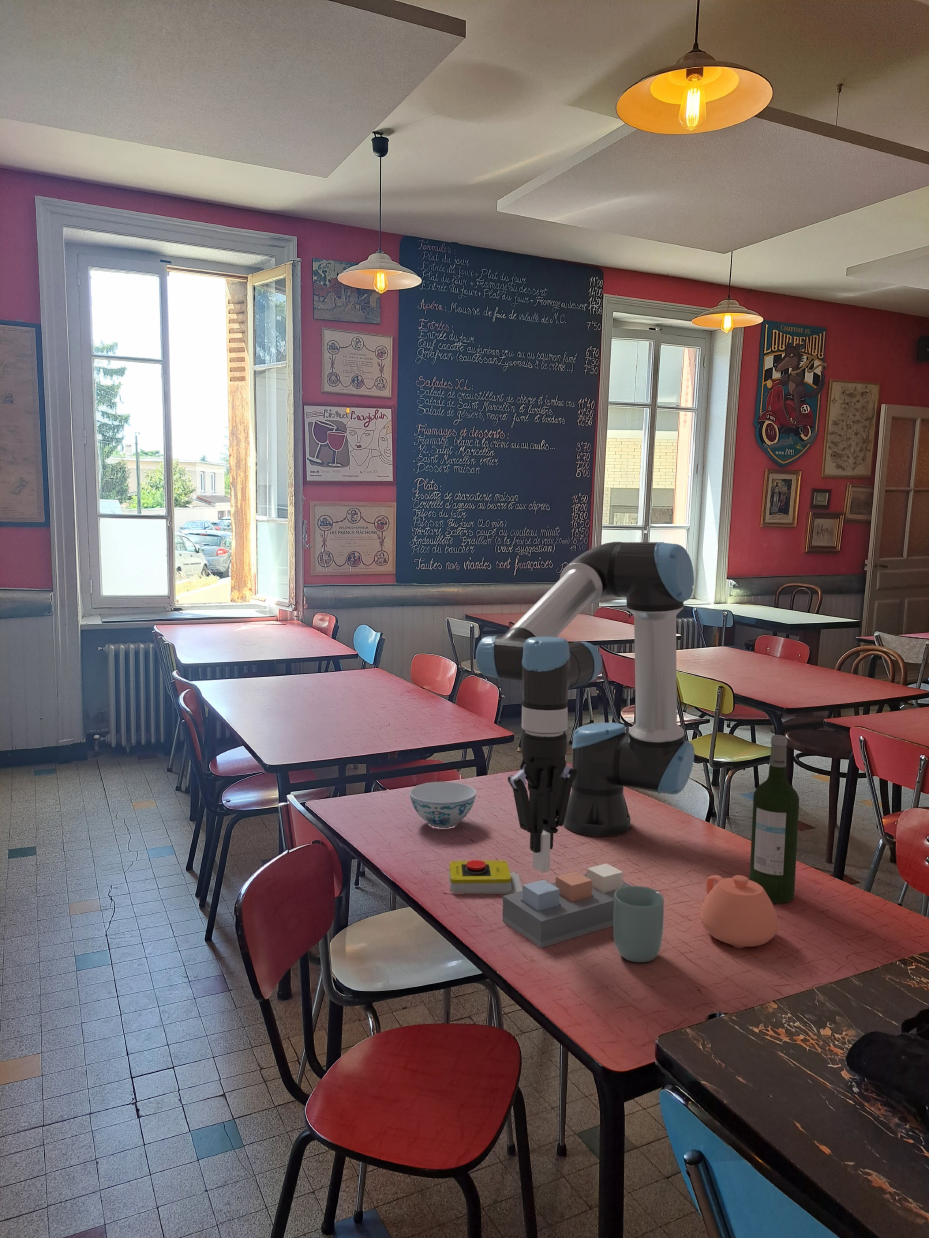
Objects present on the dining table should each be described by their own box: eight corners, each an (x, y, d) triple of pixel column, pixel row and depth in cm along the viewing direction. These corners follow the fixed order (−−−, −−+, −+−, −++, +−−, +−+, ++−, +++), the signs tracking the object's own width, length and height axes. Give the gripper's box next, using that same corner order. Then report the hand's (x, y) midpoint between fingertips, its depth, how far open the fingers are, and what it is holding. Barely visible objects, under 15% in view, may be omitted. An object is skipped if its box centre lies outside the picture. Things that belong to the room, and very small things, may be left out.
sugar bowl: (738, 961, 135) (741, 898, 134) (677, 924, 147) (679, 866, 146) (793, 944, 141) (796, 884, 140) (730, 909, 153) (733, 854, 152)
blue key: (543, 899, 148) (543, 879, 147) (559, 908, 144) (559, 888, 144) (522, 904, 145) (522, 884, 145) (537, 914, 142) (538, 894, 141)
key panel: (600, 893, 159) (601, 869, 159) (642, 916, 150) (643, 891, 149) (502, 920, 148) (502, 895, 147) (540, 947, 138) (541, 921, 138)
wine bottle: (793, 889, 162) (801, 733, 158) (794, 906, 154) (803, 743, 151) (749, 883, 164) (756, 729, 161) (748, 900, 157) (756, 739, 154)
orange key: (575, 890, 151) (575, 871, 151) (591, 899, 148) (592, 880, 147) (555, 895, 149) (555, 876, 149) (571, 905, 145) (571, 885, 145)
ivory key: (605, 881, 155) (606, 863, 155) (622, 890, 151) (622, 871, 151) (586, 887, 153) (587, 868, 152) (603, 896, 149) (603, 877, 149)
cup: (606, 944, 140) (608, 886, 139) (653, 943, 140) (655, 884, 139) (619, 969, 132) (621, 907, 131) (668, 967, 133) (671, 905, 132)
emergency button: (441, 854, 167) (518, 853, 168) (441, 876, 168) (518, 875, 168) (442, 873, 158) (523, 873, 159) (442, 896, 158) (523, 895, 159)
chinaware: (487, 821, 197) (488, 788, 196) (452, 841, 185) (452, 806, 184) (434, 809, 205) (434, 777, 204) (396, 827, 193) (396, 794, 192)
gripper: (561, 722, 148) (558, 854, 150) (498, 730, 141) (496, 869, 144) (589, 731, 142) (585, 869, 144) (525, 740, 135) (522, 885, 137)
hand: (541, 868), depth 144 cm, fingers closed
